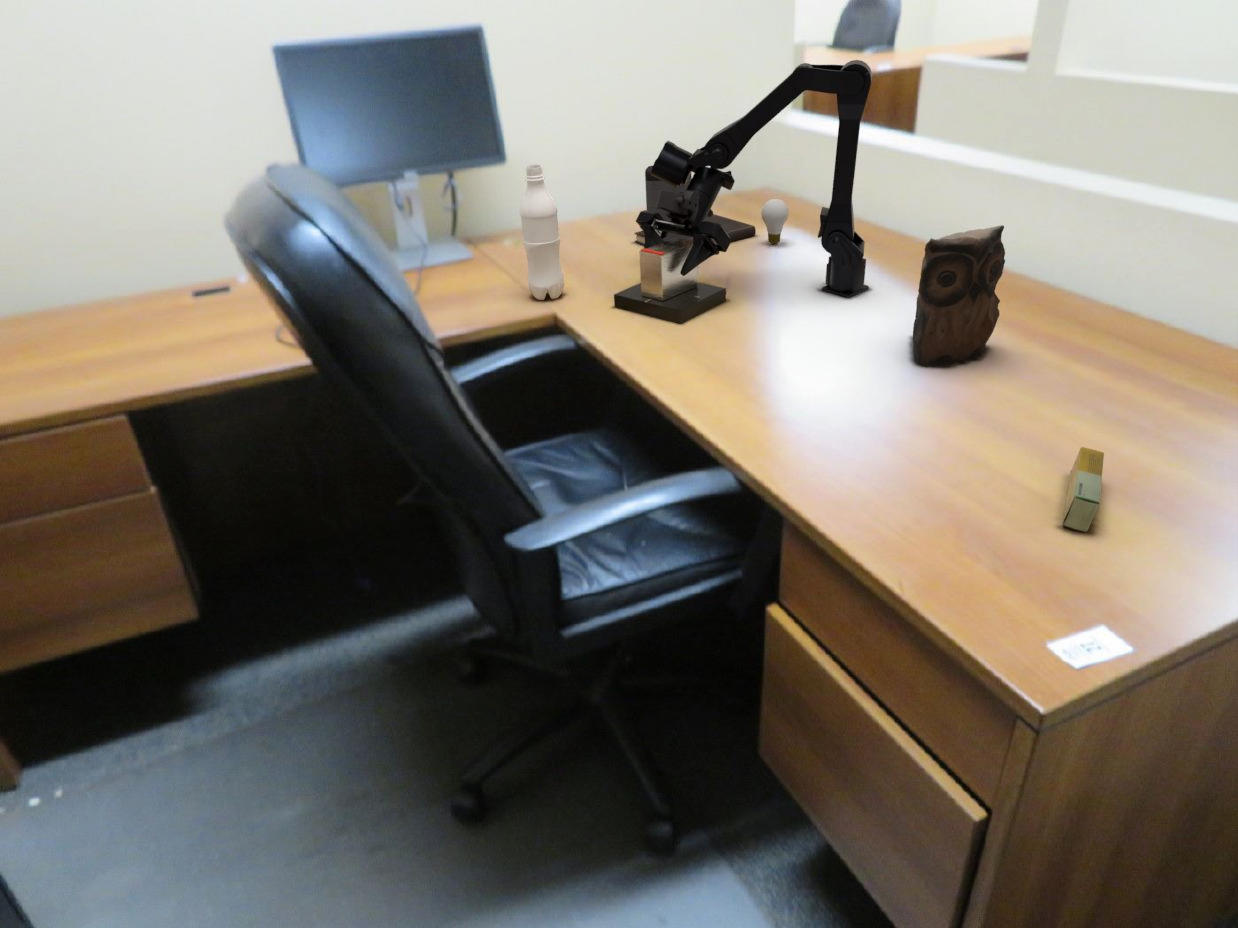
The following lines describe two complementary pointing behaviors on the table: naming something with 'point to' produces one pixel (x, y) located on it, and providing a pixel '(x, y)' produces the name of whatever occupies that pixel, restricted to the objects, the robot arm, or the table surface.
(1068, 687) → the table surface
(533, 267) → the water bottle
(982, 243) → the owl
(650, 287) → the brushed aluminum block
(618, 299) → the dial plate
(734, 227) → the hardcover book
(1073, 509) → the medication box
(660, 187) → the electronic device
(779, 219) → the light bulb
